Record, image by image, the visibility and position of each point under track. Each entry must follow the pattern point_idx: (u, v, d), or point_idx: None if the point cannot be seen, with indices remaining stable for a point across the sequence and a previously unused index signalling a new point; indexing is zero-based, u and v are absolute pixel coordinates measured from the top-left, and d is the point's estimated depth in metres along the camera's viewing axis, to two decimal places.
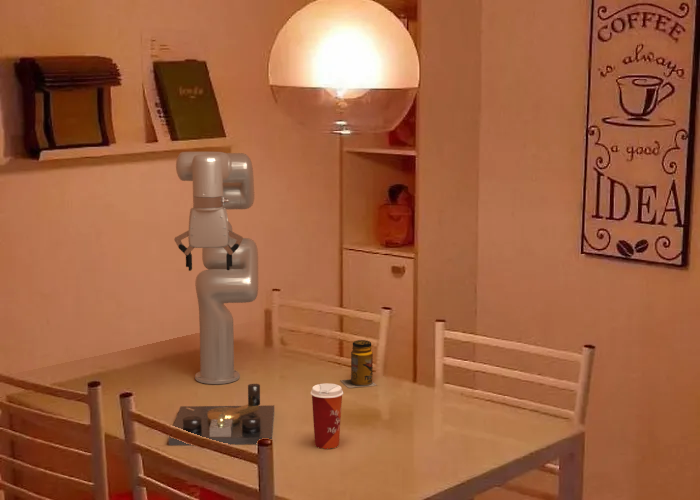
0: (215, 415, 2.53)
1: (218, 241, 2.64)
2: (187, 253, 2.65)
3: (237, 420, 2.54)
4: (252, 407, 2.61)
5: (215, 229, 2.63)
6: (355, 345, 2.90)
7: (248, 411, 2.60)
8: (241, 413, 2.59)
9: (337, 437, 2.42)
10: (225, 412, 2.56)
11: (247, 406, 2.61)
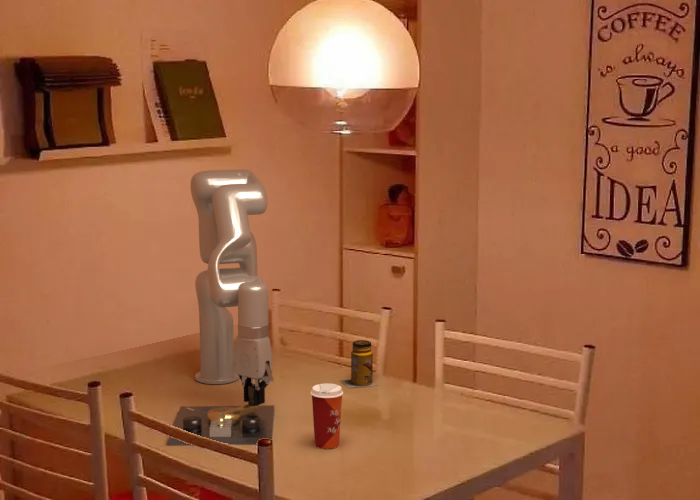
0: (215, 415, 2.53)
1: None
2: None
3: (237, 420, 2.54)
4: (252, 407, 2.61)
5: None
6: (355, 345, 2.90)
7: (248, 411, 2.60)
8: (241, 413, 2.59)
9: (337, 437, 2.42)
10: (225, 412, 2.56)
11: (247, 406, 2.61)
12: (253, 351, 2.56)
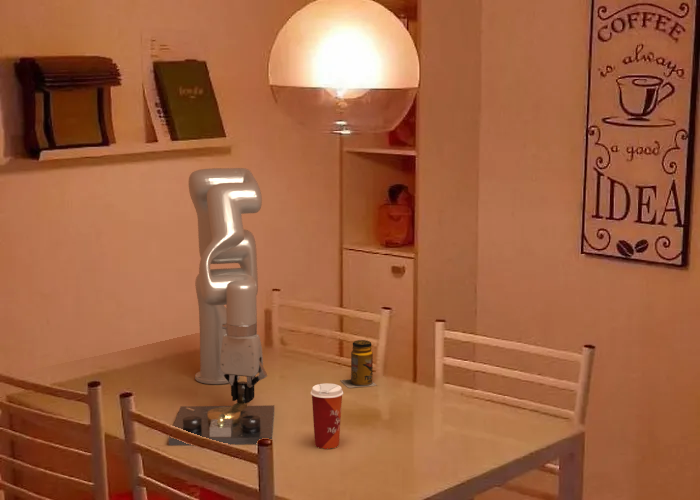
0: (218, 415, 2.53)
1: None
2: None
3: None
4: (243, 405, 2.63)
5: None
6: (355, 345, 2.90)
7: (241, 409, 2.62)
8: None
9: (337, 437, 2.42)
10: (225, 411, 2.56)
11: (238, 404, 2.63)
12: (248, 349, 2.59)
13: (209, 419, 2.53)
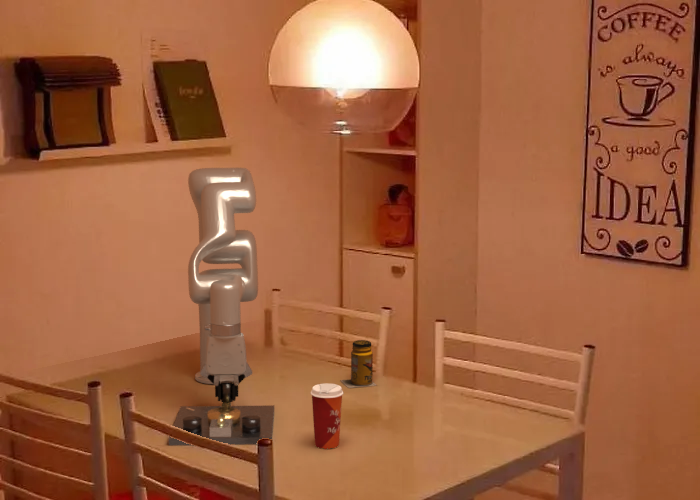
0: None
1: None
2: None
3: None
4: (230, 404, 2.64)
5: None
6: (355, 345, 2.90)
7: None
8: None
9: (337, 437, 2.42)
10: (225, 411, 2.56)
11: (226, 403, 2.63)
12: (237, 347, 2.61)
13: None
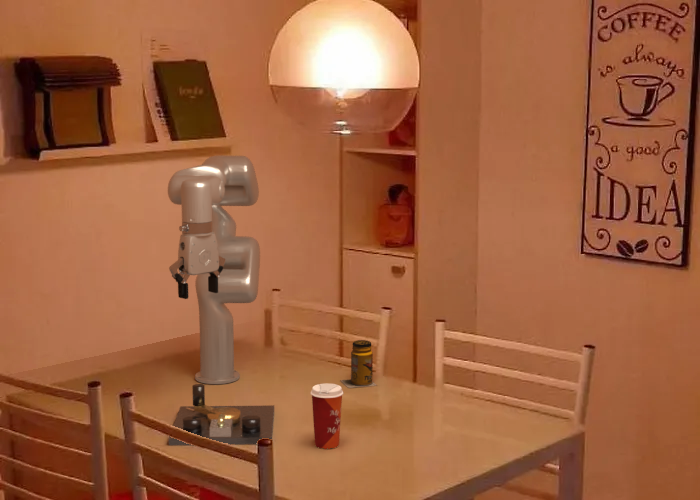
0: (231, 414, 2.54)
1: None
2: None
3: None
4: None
5: None
6: (355, 345, 2.90)
7: None
8: None
9: (337, 437, 2.42)
10: (223, 411, 2.56)
11: (204, 406, 2.61)
12: (213, 244, 2.63)
13: None
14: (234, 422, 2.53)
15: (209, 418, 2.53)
